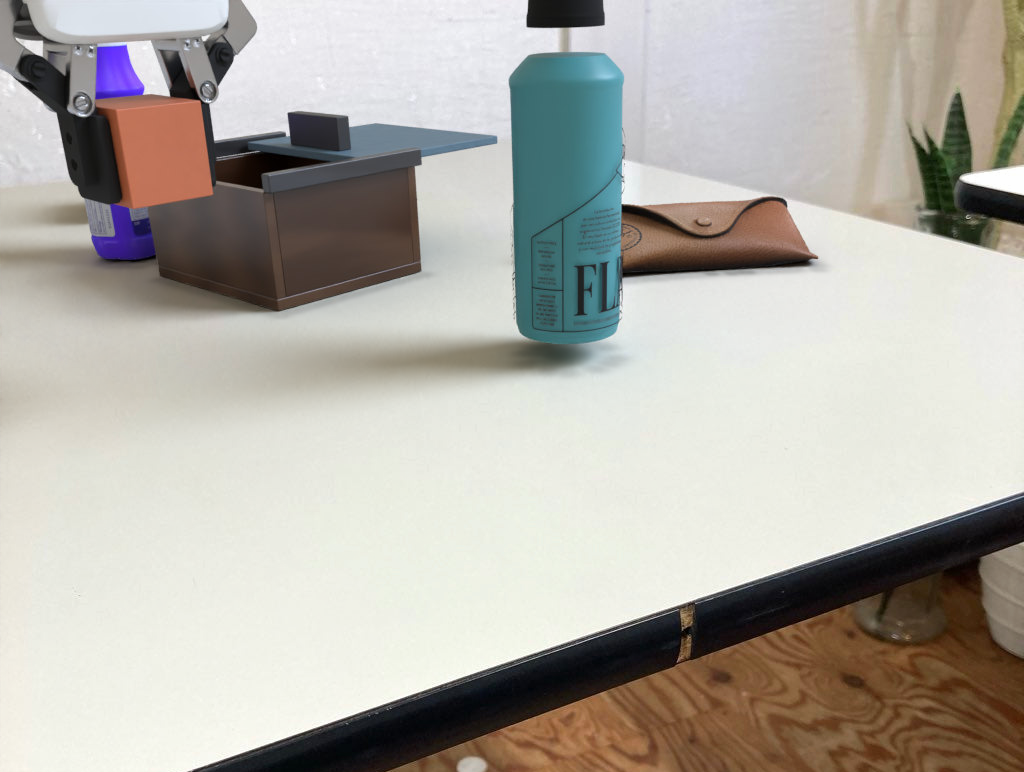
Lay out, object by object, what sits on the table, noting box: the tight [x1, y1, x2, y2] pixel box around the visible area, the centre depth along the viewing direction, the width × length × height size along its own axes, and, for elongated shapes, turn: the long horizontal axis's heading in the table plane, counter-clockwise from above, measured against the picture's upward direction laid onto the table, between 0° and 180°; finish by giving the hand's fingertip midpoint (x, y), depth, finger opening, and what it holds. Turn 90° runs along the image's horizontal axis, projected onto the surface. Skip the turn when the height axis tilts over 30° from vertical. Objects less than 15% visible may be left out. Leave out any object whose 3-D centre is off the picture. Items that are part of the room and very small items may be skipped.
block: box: [95, 93, 213, 209], centre depth 52 cm, size 4×4×4 cm
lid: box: [248, 110, 498, 162], centre depth 83 cm, size 15×14×3 cm
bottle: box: [83, 42, 156, 261], centre depth 84 cm, size 7×6×17 cm
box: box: [147, 130, 423, 312], centre depth 79 cm, size 17×14×9 cm
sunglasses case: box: [620, 195, 819, 274], centre depth 82 cm, size 18×7×7 cm
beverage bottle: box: [508, 0, 626, 345], centre depth 58 cm, size 6×7×20 cm
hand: (148, 188), depth 52 cm, fingers closed on block, 4 cm apart
